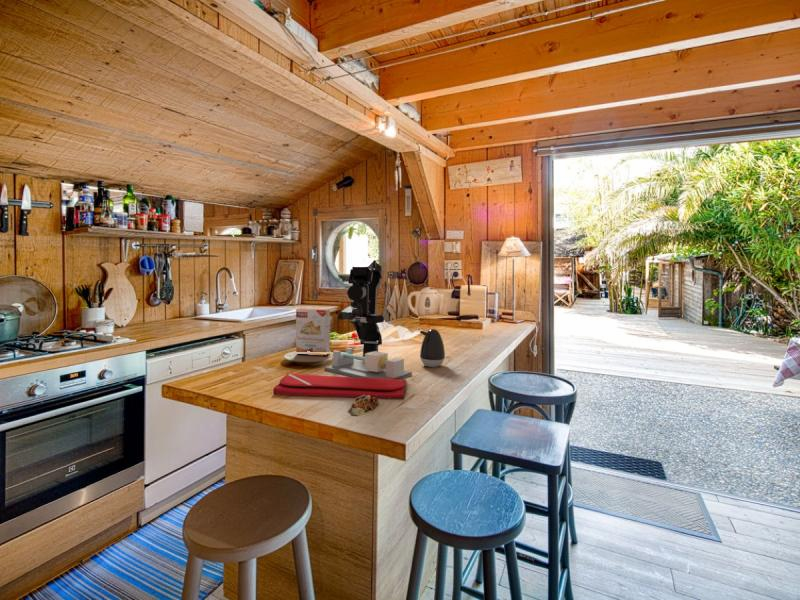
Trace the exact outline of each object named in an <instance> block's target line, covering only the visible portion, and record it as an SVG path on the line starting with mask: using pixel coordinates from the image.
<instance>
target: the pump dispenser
mask: <svg viewBox="0 0 800 600" xmlns="http://www.w3.org/2000/svg"><path fill="white" fill-rule="evenodd" d="M419 333H420V334H421V335H424V337H423V340H422V343H421V346H420V353H419V357H420V361H421V363H422V365H424V366H425V367H427V366H428V368H438V367H440V366H442V365H443V363H444V360H445V358H446V349H445V344H444V340H443V338H442V335H441V333H440V332H439V331H438V330H437V329H435V328H431V329H429V330H428V331H424V330H420V331H419Z"/></svg>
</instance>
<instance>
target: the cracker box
mask: <svg viewBox="0 0 800 600" xmlns="http://www.w3.org/2000/svg"><path fill="white" fill-rule="evenodd" d="M295 332H296V333H295V338H296V339H295V340H296V341H295V348H296V349H295V350H296V351H295V353H296V352H307V351H310V352H331V348H330V347H331V346H330V345H331V343H330V340H331V310H330V308H315V307H299V308H296V309H295Z"/></svg>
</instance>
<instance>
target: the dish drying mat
mask: <svg viewBox="0 0 800 600" xmlns="http://www.w3.org/2000/svg"><path fill="white" fill-rule="evenodd" d="M406 383H407V381H406V379H405V380H404V379H399V380H398V379H388V378H356V377H351V376H337V375H319V374H316V375H315V374H301V373H287V374H285V375H284V376H283V377H282V378H281V379H280V381H279V383H278V384H276V385H275V386H274V387H273V389H272V392H273V395H274V394H287V395H286V396H297V395H301V396H304V397H305V396H306V397H324V396H325V397H327V398H328V397H329V398H355V399H356V398H357V397H360V396H362V395H366V396H368V395H370V397H371V398H373V397H376V398H377V399H395V400H396V399H398V400H399V399H400V400H401V399H404V397H405V388H406V385H407V384H406Z"/></svg>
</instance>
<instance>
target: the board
mask: <svg viewBox="0 0 800 600" xmlns="http://www.w3.org/2000/svg"><path fill="white" fill-rule="evenodd" d="M340 352H341V351H340V350H332V358H331V365H328V366H324V371H327V372H331V373H334V374H340V375H343V376H346V377H356V378H388V379H398V380H403V379H404V377H405V378H408V377H410V375H411V376H412V375H413V374H412V373H413V372H412V371H409V370H405V368H404V366H405V358H401V357H393V358H389V359H388V360H386V370H383V371H379V372H374V371H369V370H365V361H361V360H357V359H352V358H347V357H344V354H340ZM342 352H343V351H342ZM353 352H354V348H351V347H345V352H343V353H348V354H353V355H354V353H353ZM407 376H408V377H407Z"/></svg>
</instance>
